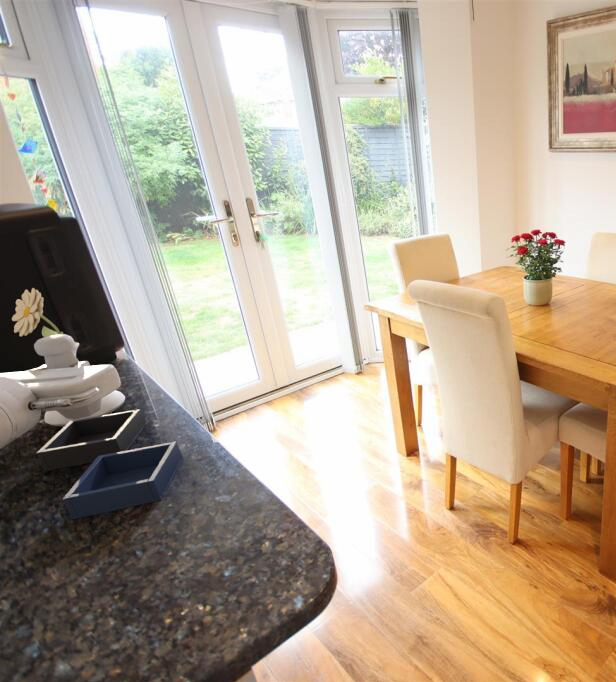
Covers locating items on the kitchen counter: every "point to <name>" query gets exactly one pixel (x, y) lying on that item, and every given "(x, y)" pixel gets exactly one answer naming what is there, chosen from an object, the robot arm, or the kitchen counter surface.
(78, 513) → the tub
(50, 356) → the salt shaker
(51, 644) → the kitchen counter surface
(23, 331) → the flower in vase
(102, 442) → the tub
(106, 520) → the kitchen counter surface
